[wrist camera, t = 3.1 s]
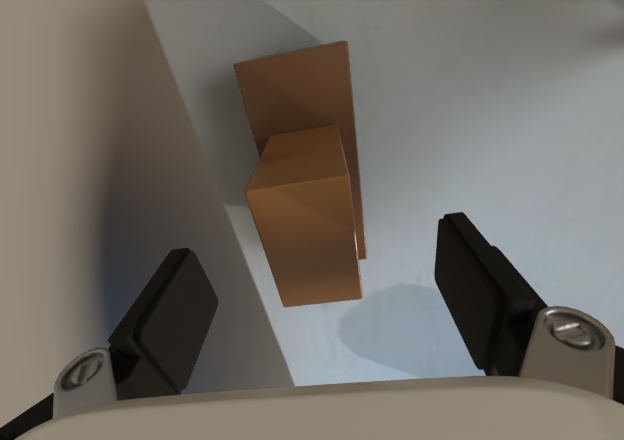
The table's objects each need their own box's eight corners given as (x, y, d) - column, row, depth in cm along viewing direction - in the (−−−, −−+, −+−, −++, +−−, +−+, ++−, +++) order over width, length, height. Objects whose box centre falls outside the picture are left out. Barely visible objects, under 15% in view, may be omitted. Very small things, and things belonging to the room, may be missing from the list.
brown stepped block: (360, 230, 23) (386, 344, 14) (294, 238, 23) (281, 354, 15) (341, 39, 16) (370, 45, 7) (247, 59, 16) (173, 84, 8)
